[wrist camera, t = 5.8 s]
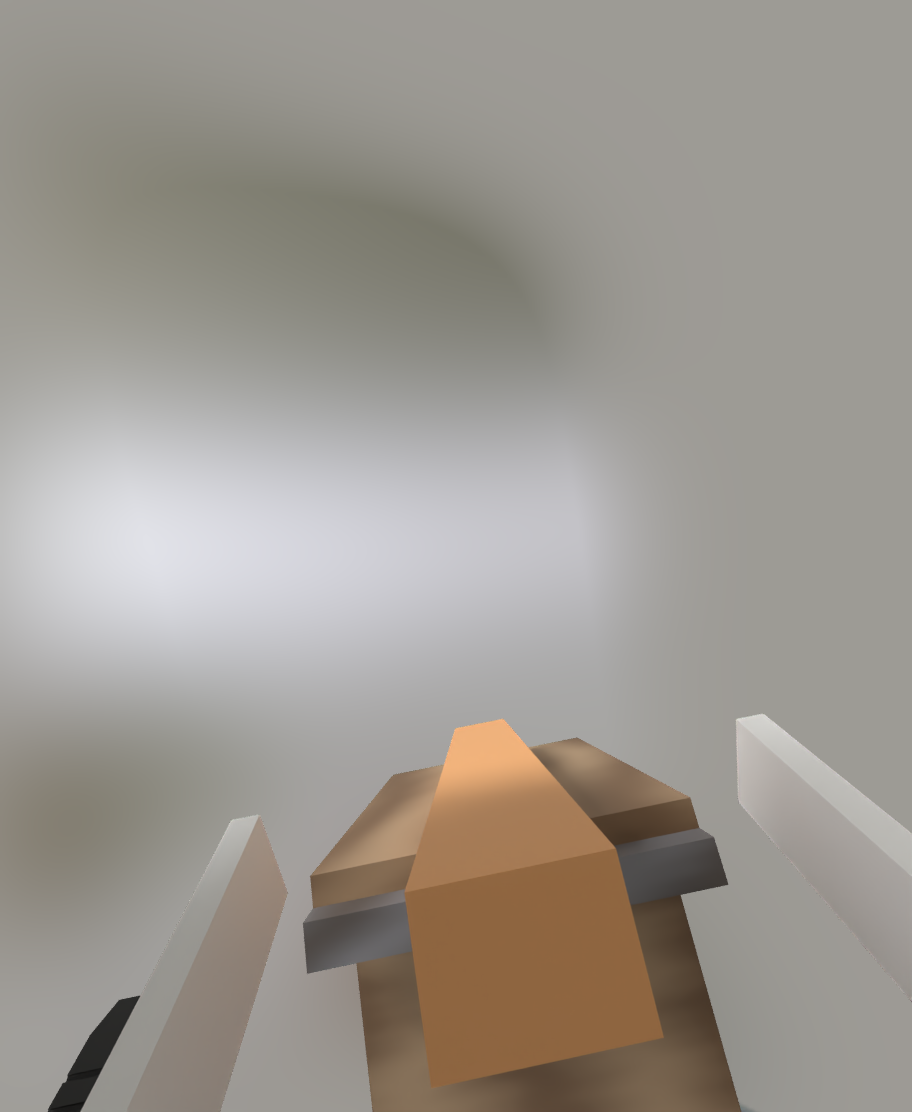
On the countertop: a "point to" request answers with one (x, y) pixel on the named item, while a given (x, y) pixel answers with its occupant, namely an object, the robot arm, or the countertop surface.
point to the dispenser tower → (655, 897)
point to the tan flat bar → (519, 920)
